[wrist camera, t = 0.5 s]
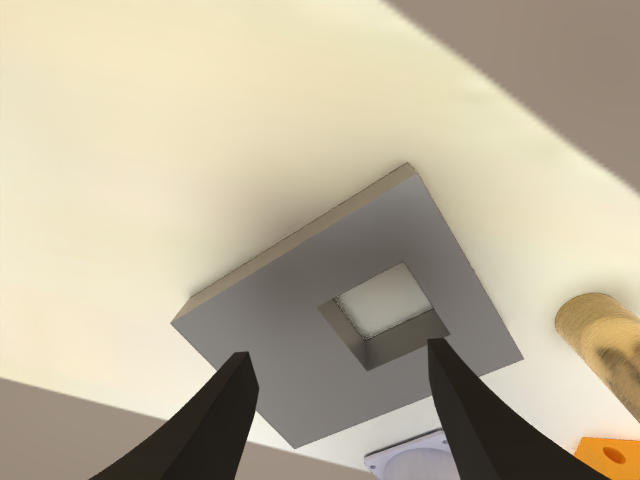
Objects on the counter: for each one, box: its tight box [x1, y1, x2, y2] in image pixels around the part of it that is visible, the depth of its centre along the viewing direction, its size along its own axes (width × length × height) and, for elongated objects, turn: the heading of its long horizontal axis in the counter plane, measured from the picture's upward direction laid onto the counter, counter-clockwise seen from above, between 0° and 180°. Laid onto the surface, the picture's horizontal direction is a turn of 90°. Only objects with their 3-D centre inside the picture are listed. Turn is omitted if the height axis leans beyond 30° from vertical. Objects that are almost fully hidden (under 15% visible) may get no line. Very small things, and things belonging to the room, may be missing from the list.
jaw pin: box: [555, 293, 640, 423], centre depth 19 cm, size 4×4×8 cm
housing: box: [170, 162, 524, 449], centre depth 22 cm, size 14×18×3 cm
